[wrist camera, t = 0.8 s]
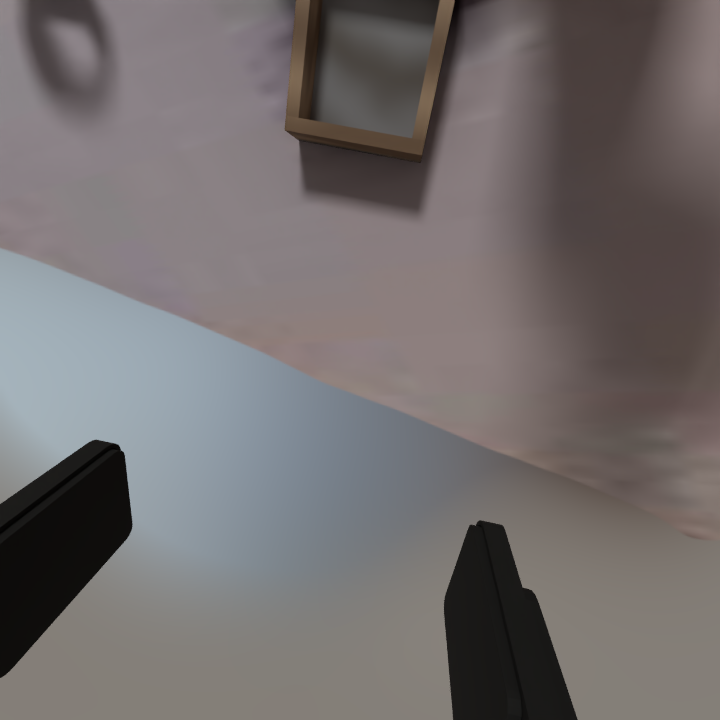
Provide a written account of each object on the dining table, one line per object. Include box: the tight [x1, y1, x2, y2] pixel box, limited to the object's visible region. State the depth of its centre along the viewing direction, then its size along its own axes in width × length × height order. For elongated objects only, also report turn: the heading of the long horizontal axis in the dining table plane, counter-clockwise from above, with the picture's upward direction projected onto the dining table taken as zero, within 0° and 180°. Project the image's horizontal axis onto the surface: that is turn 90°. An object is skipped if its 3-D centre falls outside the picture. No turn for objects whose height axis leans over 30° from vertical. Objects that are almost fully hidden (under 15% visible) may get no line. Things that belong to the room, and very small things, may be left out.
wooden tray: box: [285, 0, 455, 163], centre depth 28 cm, size 13×11×4 cm
